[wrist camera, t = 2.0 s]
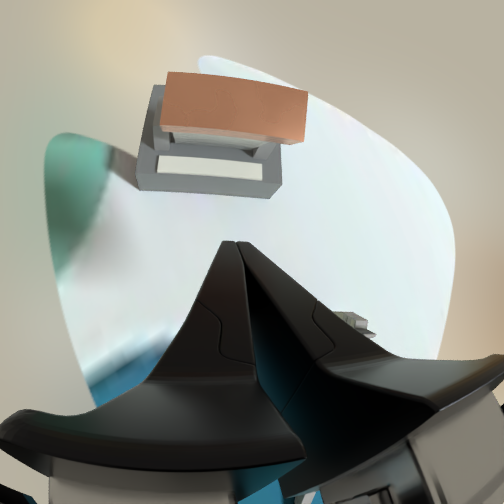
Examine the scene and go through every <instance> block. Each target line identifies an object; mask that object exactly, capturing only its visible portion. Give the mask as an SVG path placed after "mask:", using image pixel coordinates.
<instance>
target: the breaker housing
mask: <svg viewBox="0 0 504 504" xmlns="http://www.w3.org/2000/svg"><path fill="white" fill-rule="evenodd" d="M165 86H166V85H154V86H153V90H152V94H151V97H150V101H149V106H148V110H147V114H146V118H145V123H144V128H143V132H142V138H141V143H140V148H139V153H138V158H137V164H136V170H135V175H136V179H137V182H138V186H139V189H140V191H165V192H184V193H201V194H215V195H229V196H241V197H253V198H263V199H270V198H271V196H272V195H273V194H274V193H275V192H276V191H277V190H278V189H279V188H280V186H281V185H282V167H281V147H280V143H274V142H270V143H267V144H264V145H262V146H259V147H256V148H253V149H251V150H244V149H235V148H226V147H216V146H204V145H191V144H176V143H175V140H174V136H173V133H172V132H163V131H162V129H161V127H160V118H161V111H162V104H163V98H164V92H165Z"/></svg>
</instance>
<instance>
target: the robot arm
mask: <svg viewBox="0 0 504 504" xmlns="http://www.w3.org/2000/svg"><path fill="white" fill-rule="evenodd" d="M503 380H504V355H500V354H493V355H490V356H488V357H486V358H484V359H478V360H467V361H466V360H465V361H458V360H457V361H456V360H455V361H454V360H425V359H408V358H403V357H399V356H396V355H394V354H392V353H390V352H388V351H386V350H385V349H383V348H382V347H380V346H379V345H378V344H376V343H375V342H373V341H372V340H370V339H369V338H368V337H366V336H365V335H363V334H362V333H360V332H359V331H358V330H356V329H355V328H353V327H352V326H351V325H349V324H348V323H347V322H345V321H344V320H342V319H341V318H340V317H338V316H337V315H336V314H335V313H333V312H332V311H331V310H330V309H328V308H327V307H326V306H325V305H324V304H322V303H321V302H320V301H317V299H316V298H315V297H314V296H313V295H312V294H310V293H309V292H308V291H307V290H306V289H305V288H303V287H302V286H301V285H300V284H299V283H297V282H296V281H295V280H294V279H293V278H291V277H290V276H289V275H288V274H287V273H285V272H284V271H283V270H282V269H281V268H279V267H278V266H277V265H276V264H275V263H273V262H272V261H271V260H270V259H269V258H267V257H266V256H265V255H264V254H263V253H262V252H260V251H259V250H258V249H257V248H256V247H254V246H253V245H252V244H251V243H249V242H241V241H238V242H235V241H222V243H221V245H220V247H219V249H218V251H217V253H216V255H215V257H214V260H213V262H212V264H211V266H210V268H209V270H208V273H207V275H206V277H205V279H204V281H203V284H202V286H201V288H200V290H199V292H198V295H197V297H196V299H195V301H194V303H193V305H192V308H191V310H190V312H189V314H188V316H187V318H186V320H185V322H184V323H183V325H182V327H181V328H180V330H179V331H178V333H177V335H176V336H175V338H174V339H173V341H172V342H171V344H170V345H169V346H168V348H167V349H166V351H165V352H164V354H163V355H162V357H161V358H160V360H159V361H158V363H157V364H156V366H155V367H154V368H153V370H152V371H151V373H150V374H149V375H148V376H147V377H146V378H145V379H144V381H142V382H141V383H140V384H138V385H137V386H135V387H133V388H132V389H130V390H128V391H126V392H125V393H123V394H121V395H119V396H118V397H116V398H114V399H112V400H110V401H108V402H107V403H105V404H103V405H101V406H99V407H97V408H96V409H94V410H92V411H89V412H87V413H84V414H79V415H71V416H62V415H55V414H50V413H45V412H41V411H36V410H31V409H24V410H19V411H17V412H16V413H14V414H13V415H11V416H10V417H9V418H7V419H5V420H4V421H3V422H2V423H1V424H0V449H1V450H3V451H4V452H6V453H7V454H9V455H10V456H12V457H14V458H15V459H17V460H18V461H20V462H22V463H24V464H25V465H27V466H29V467H30V468H32V469H34V470H36V471H38V472H40V473H41V474H43V475H46V476H47V477H49V504H238V502H239V501H240V500H242V499H244V498H246V497H248V496H250V495H251V494H253V493H255V492H257V491H258V490H260V489H262V488H263V487H265V486H267V485H268V484H270V483H272V482H273V481H275V480H276V479H278V481H279V484H280V488H281V491H282V494H283V497H284V499H286V498H291V497H296V496H300V495H304V494H308V493H312V492H316V491H319V490H320V493H321V497H322V500H323V503H324V504H503V502H504V404H503V405H502V406H500V405H499V403H498V401H497V399H496V398H495V396H494V394H493V392H492V390H494V389H495V388H496V387H497V386H498V385H499V384H500V383H501V382H502V381H503ZM0 504H37V503H36V502H35V500H34V499H33V498H32V497H31V496H29V495H26V494H23V493H21V492H18V491H16V490H13V489H11V488H8V487H6V486H4V485H2V484H0Z"/></svg>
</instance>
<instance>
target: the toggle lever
mask: <svg viewBox="0 0 504 504" xmlns="http://www.w3.org/2000/svg"><path fill="white" fill-rule="evenodd" d="M307 101H308V92H307V91H303V90H299V89H294V88H290V87H285V86H280V85H275V84H270V83H265V82H259V81H253V80H247V79H240V78H233V77H226V76H217V75H208V74H197V73H183V72H168V75H167V80H166V86H165V92H164V98H163V104H162V111H161V118H160V127H161V129H162V131H163V132H172V133H173V136H174V140H175V143H176V144H191V145H204V146H216V147H226V148H235V149H244V150H251V149H253V148H256V147H259V146H262V145H264V144H267V143H270V142H274V143H280V144H287V145H292V144H296V143H300V142H304V134H305V124H306V113H307Z"/></svg>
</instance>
